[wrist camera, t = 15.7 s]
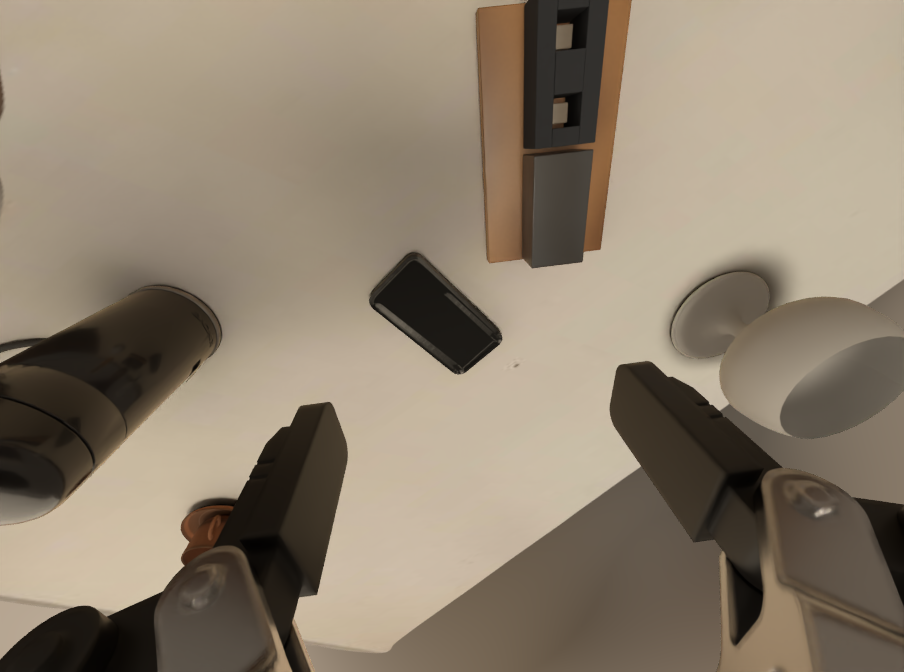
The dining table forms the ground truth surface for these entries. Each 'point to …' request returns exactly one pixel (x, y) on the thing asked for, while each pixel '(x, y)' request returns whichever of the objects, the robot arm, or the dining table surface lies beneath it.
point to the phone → (435, 314)
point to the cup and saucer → (203, 529)
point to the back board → (549, 169)
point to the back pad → (562, 70)
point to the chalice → (793, 355)
